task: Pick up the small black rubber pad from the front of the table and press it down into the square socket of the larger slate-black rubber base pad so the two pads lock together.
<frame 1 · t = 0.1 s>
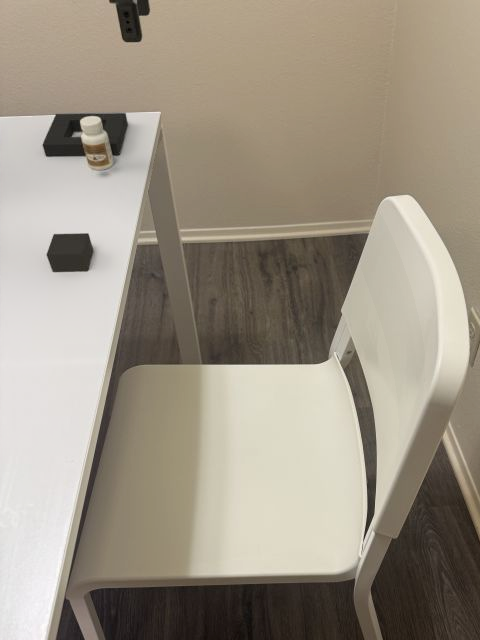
hand: (137, 27, 72), 29 cm above the table, tool pointing down, fingers open, 8 cm apart
small pad: (73, 261, 89), on the table
pill bottle: (101, 165, 107), on the table
base pad: (88, 139, 113), on the table
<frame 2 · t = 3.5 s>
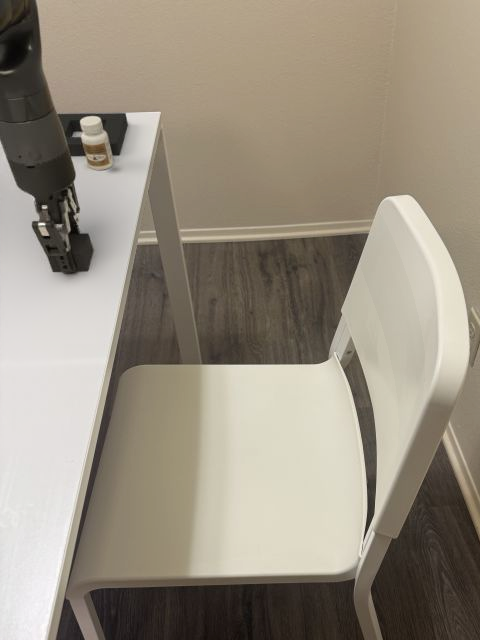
hand: (72, 258, 88), 0 cm above the table, tool pointing down, fingers closed on small pad, 5 cm apart
small pad: (73, 261, 89), on the table, touching gripper
everything else where it was.
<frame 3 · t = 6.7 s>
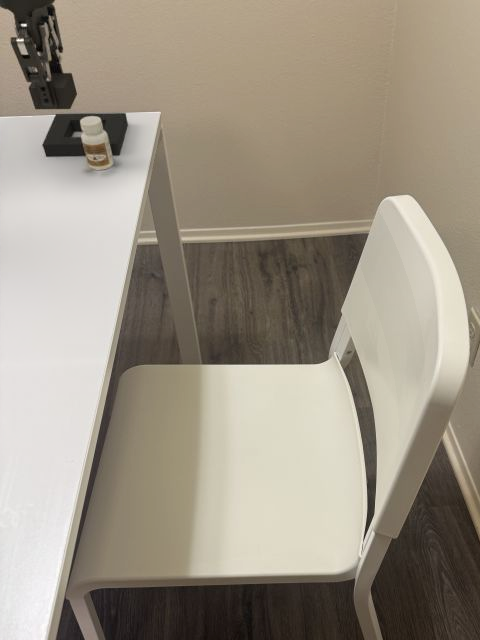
hand: (55, 98, 88), 16 cm above the table, tool pointing down, fingers closed on small pad, 5 cm apart
small pad: (56, 101, 89), point 15 cm above the table, touching gripper
everything else where it was.
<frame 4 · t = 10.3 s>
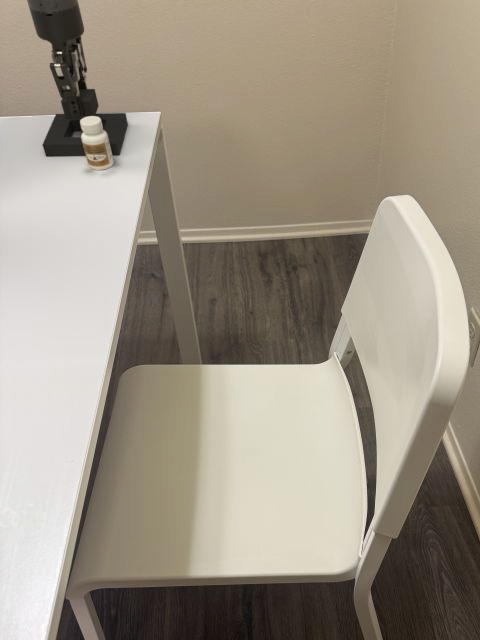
hand: (81, 110, 108), 5 cm above the table, tool pointing down, fingers closed on small pad, 5 cm apart
small pad: (82, 112, 109), point 5 cm above the table, touching gripper
everything else where it was.
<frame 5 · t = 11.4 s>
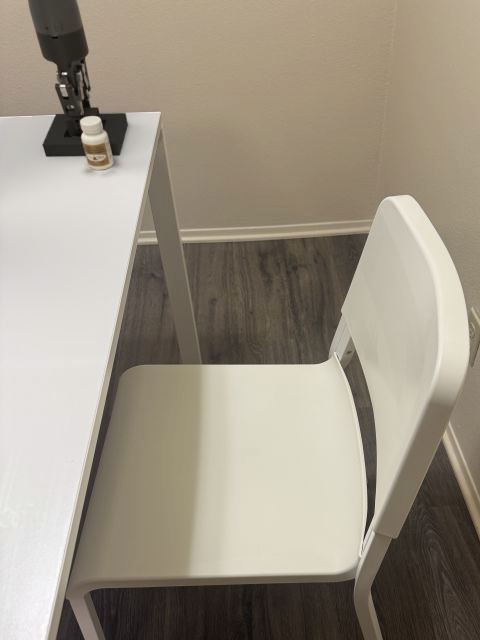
hand: (85, 127, 111), 2 cm above the table, tool pointing down, fingers closed on small pad, 5 cm apart
small pad: (86, 130, 111), point 2 cm above the table, touching gripper
everything else where it was.
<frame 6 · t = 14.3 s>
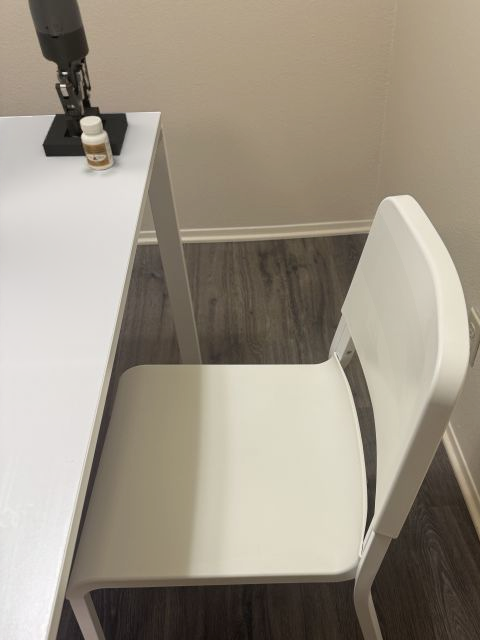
hand: (85, 127, 111), 2 cm above the table, tool pointing down, fingers closed on small pad, 5 cm apart
small pad: (86, 129, 111), point 2 cm above the table, touching gripper
everything else where it was.
when the fingers open (3 cm above the table, at t = 17.1 s): small pad drops 2 cm, resting in base pad.
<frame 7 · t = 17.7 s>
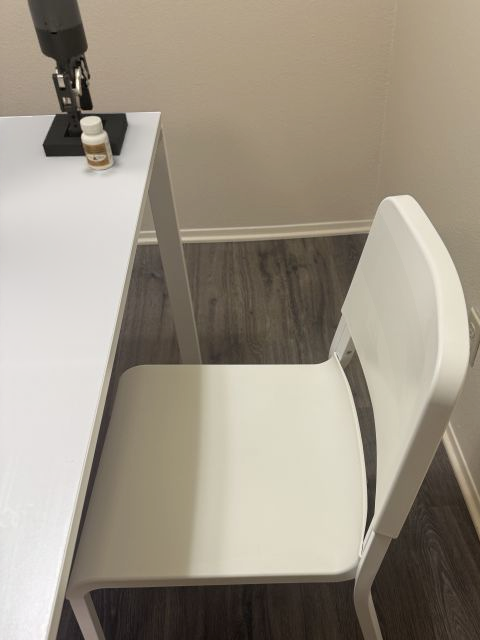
hand: (83, 120, 110), 4 cm above the table, tool pointing down, fingers open, 8 cm apart
small pad: (88, 139, 113), resting in base pad
everything else where it was.
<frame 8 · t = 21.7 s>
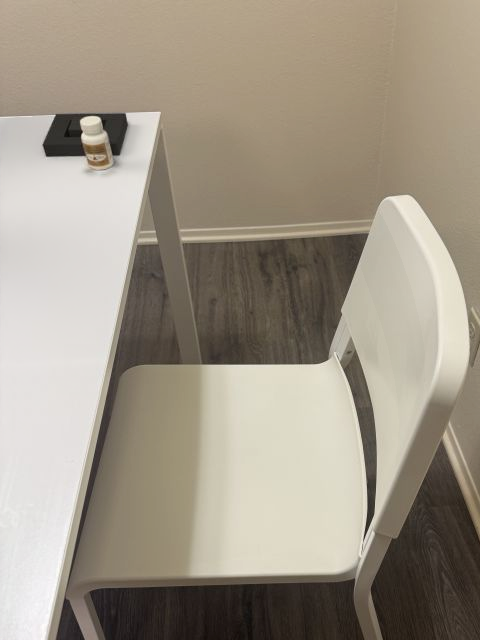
nothing on the table moved.
at the end: small pad 0.2 cm off-centre on the base pad, point 0.0 cm above the base pad's base; small pad tilted 0°; the gripper is holding nothing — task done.
